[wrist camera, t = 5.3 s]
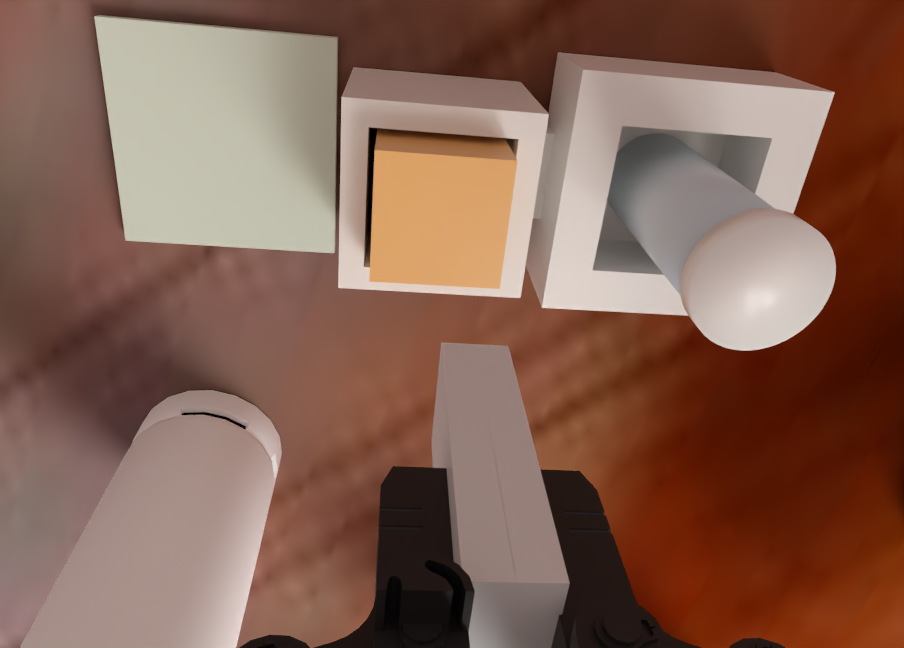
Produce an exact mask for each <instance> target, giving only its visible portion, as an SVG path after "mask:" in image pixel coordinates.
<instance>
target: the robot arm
mask: <svg viewBox="0 0 904 648" xmlns="http://www.w3.org/2000/svg"><path fill="white" fill-rule="evenodd" d="M432 460H433V468H424V467H395V466H393V467H392V469H391V470H390V472H389V473H388V475H387V477H386V478H385V480H384V481H383V483H382V484H381V492H380V510H379V527H378V545H377V566H376V587H375V602H374V607H373V609H372V611H371V613H370V615H369V617H368V618H367V620H366V621H365V622H364V623H363V624H362V625H361V626H360V627H359V628H358V629H357V630H355V631H354V632H353V633H351V634H350V635H348V636H347V637H344V638H342V639H339V640H337V641H334V642H332V643H328V644H325V645H321V646H318V647H315V648H701V647H697V646H694V645H691V644H688V643H685V642H683V641H680V640H678V639H675V638H673V637H671V636H670V635H668V634H666V633H665V632H663V631H662V629H661V627H660V625H659V624H658V622H657V620H656V619H655V618H654V617H653V616H652V615H651V614H649V613H648V612H647V611H646V610H645V609H644V608H643V607H641V606H639V605H638V603H637V601H636V599H635V597H634V594H633V591H632V588H631V586H630V583H629V580H628V577H627V574H626V572H625V569H624V566H623V563H622V560H621V557H620V555H619V552H618V549H617V546H616V543H615V540H614V538H613V535H612V534H611V533H610V530H611V529H610V526H609V523H608V521H607V518H606V516H604V509H603V506H602V504H601V501H600V498H599V495H598V492H597V490H596V489H595V488H594V487H593V485H592V484H591V483H590V482H589V481H588V480H587V479H586V478H585V477H584V476H583V474H582V473H581V472H580V471H563V470H540V466H539V463H538V459H537V455H536V451H535V447H534V443H533V439H532V436H531V432H530V428H529V424H528V420H527V416H526V412H525V408H524V405H523V401H522V397H521V393H520V389H519V385H518V381H517V378H516V374H515V370H514V366H513V362H512V358H511V354H510V350H509V347H508V346H500V345H481V344H461V343H442V342H441V350H440V360H439V370H438V381H437V391H436V401H435V411H434V421H433V432H432ZM240 648H310V647H309V646H308V645H307V644H306V643H304V642H302V641H300V640H298V639H295V638H293V637H291V636H282V635H268V636H265V637H261V638H257V639H254V640H251V641H249V642H248V643H246V644H244V645H243V646H241V647H240ZM730 648H785V647H783V646H782V645H780V644H778V643H774V642H771V641H768V640H764V639H761V638H749V639H742V640H740V641H738V642H736V643H734V644H732V645H731V646H730Z"/></svg>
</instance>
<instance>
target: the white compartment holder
mask: <svg viewBox="0 0 904 648" xmlns="http://www.w3.org/2000/svg"><path fill="white" fill-rule="evenodd" d="M834 94H835V92H833V91H830V90H827V89H824V88H821V87H818V86H815V85H812V84H809V83H806V82H803V81H800V80H797V79H794V78H791V77H788V76H785V75H782V74H779V73H776V72H767V71H756V70H745V69H734V68H723V67H712V66H702V65H691V64H680V63H669V62H658V61H647V60H637V59H626V58H615V57H604V56H593V55H582V54H572V53H561V52H558V54H557V60H556V66H555V73H554V79H553V86H552V92H551V99H550V105H549V112H547V111H546V110H545V109H544V108H543V107H542V106H541V104H540V103H539V102H538V101H537V100H536V99H535V98H534V96H533V95H532V94H531V93H530V92H529V91H528V90H527V88H526V87H525V86H524V85H523V84H522V83H521V82H518V81H507V80H495V79H484V78H473V77H461V76H450V75H438V74H427V73H416V72H404V71H393V70H381V69H370V68H358V67H353V70H352V72H351V75H350V77H349V80H348V82H347V85H346V87H345V90H344V92H343V94H342V97H341V158H340V219H339V279H338V288H349V289H367V290H385V291H403V292H421V293H439V294H457V295H475V296H493V297H510V298H521V291H522V285H523V278H524V272H525V266H526V268H527V271H528V273H529V276H530V278H531V281H532V284H533V286H534V289H535V291H536V294H537V297H538V299H539V302H540V304H541V307H542V308H556V309H575V310H593V311H611V312H630V313H648V314H666V315H685V316H689V315H688V314H687V312H686V311H685V308H684V306H683V304H682V300H681V296H680V294H679V293H678V292H677V291H676V289H675V288H674V287H673V286H672V284H671V283H670V282H669V280H668V279H667V278H666V277H665V275H664V274H663V273H662V272H661V270H660V269H659V268H658V266H657V265H656V264H655V263H654V261H653V260H652V259H651V258H650V256H649V255H648V254H647V252H646V251H645V250H644V249H643V247H642V246H641V245H640V244H639V242H638V241H637V240H636V238H635V237H634V236H633V235H632V233H631V232H630V231H629V229H628V228H627V227H626V226H625V224H624V223H623V222H622V221H621V219H620V218H619V217H618V215H617V214H616V213H615V212H614V210H613V209H612V208H611V206H610V205H609V203H608V201H607V198H608V193H609V188H610V183H611V178H612V174H613V169H614V164H615V159H616V154H617V152H618V151H619V150H620V149H621V148H622V147H623V146H624V145H626V144H627V143H629V142H630V141H632V140H634V139H635V138H638V137H640V136H643V135H647V134H666V135H670V136H673V137H675V138H677V139H678V140H680V141H681V142H683V143H684V144H685V145H687V146H688V147H690V148H691V149H693V150H694V151H695V152H697V153H698V154H700V155H701V156H702V157H704V158H705V159H707V160H708V161H709V162H711V163H712V164H714V165H715V166H716V167H718V168H719V169H721V170H722V171H723V172H725V173H726V174H728V175H729V176H730V177H732V178H733V179H735V180H736V181H737V182H739V183H740V184H742V185H743V186H744V187H746V188H747V189H749V190H750V191H751V192H753V193H754V194H756V195H757V196H758V197H760V198H761V199H763V200H764V201H765V202H767V203H768V204H770V205H771V206H772V207H774V208H775V209H779V210H783V211H787V212H790V213H792V214H793V213H794V210H795V207H796V205H797V202H798V199H799V196H800V193H801V190H802V187H803V184H804V181H805V178H806V175H807V172H808V170H809V167H810V164H811V161H812V158H813V155H814V152H815V149H816V146H817V143H818V140H819V137H820V134H821V132H822V129H823V126H824V123H825V120H826V117H827V114H828V111H829V108H830V105H831V102H832V99H833V96H834ZM374 128H383V129H396V130H408V131H421V132H434V133H446V134H459V135H472V136H484V137H497V138H505V139H506V140H507V142H508V144H509V146H510V148H511V150H512V152H513V154H514V155H515V157H516V159H517V168H516V175H515V182H514V189H513V197H512V204H511V211H510V218H509V225H508V233H507V240H506V247H505V254H504V261H503V269H502V276H501V283H500V289H492V288H475V287H457V286H440V285H422V284H405V283H387V282H370V281H369V277H370V252H371V227H372V210H371V185H372V159H373V134H374Z"/></svg>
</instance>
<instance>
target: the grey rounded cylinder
mask: <svg viewBox="0 0 904 648" xmlns="http://www.w3.org/2000/svg"><path fill="white" fill-rule="evenodd" d="M607 201H608V203H609V205H610V206H611V208H612V209H613V210H614V212H615V213H616V214H617V215H618V217H619V218H620V219H621V221H622V222H623V223H624V224H625V226H626V227H627V228H628V229H629V231H630V232H631V233H632V235H633V236H634V237H635V238H636V240H637V241H638V242H639V244H640V245H641V246H642V247H643V249H644V250H645V251H646V252H647V254H648V255H649V256H650V258H651V259H652V260H653V261H654V263H655V264H656V265H657V266H658V268H659V269H660V270H661V272H662V273H663V274H664V275H665V277H666V278H667V279H668V280H669V282H670V283H671V284H672V286H673V287H674V288H675V289H676V291H677V292H678V293H679V294H680V296H681V300H682V304H683V306H684V308H685V311H686V312H687V314H688V315H689V317H690V318H691V319H692V321H693V322H694V323H695V325H696V326H697V327H698V329H699V330H700V331H701V332H702V333H703V334H704V336H706V337H707V338H708V339H709V340H710V341H712V342H714V343H715V344H717V345H720V346H722V347H725V348H728V349H733V350H741V351H750V350H759V349H763V348H768V347H771V346H774V345H777V344H779V343H781V342H784V341H786V340H788V339H789V338H791V337H793V336H795V335H796V334H797V333H799V332H800V331H802V330H803V329H804V328H805V327H806V326H808V325H809V324H810V323H811V322H812V321H813V320H814V319H815V318H816V317H817V315H818V314H819V313H820V311H821V310H822V309H823V307H824V305H825V304H826V302H827V301H828V298H829V296H830V294H831V292H832V289H833V286H834V282H835V276H836V262H835V256H834V253H833V250H832V248H831V246H830V244H829V242H828V241H827V239H826V238H825V237H824V236H823V235H822V234H821V233H820V232H819V231H818V230H816V229H815V228H813V227H812V226H811V225H809V224H808V223H806V222H805V221H803V220H802V219H800V218H799V217H798V216H796V215H794V214H792V213H790V212H787V211H783V210H779V209H775V208H774V207H772V206H771V205H770V204H768V203H767V202H765V201H764V200H763V199H761V198H760V197H758V196H757V195H756V194H754V193H753V192H751V191H750V190H749V189H747V188H746V187H744V186H743V185H742V184H740V183H739V182H737V181H736V180H735V179H733V178H732V177H730V176H729V175H728V174H726V173H725V172H723V171H722V170H721V169H719V168H718V167H716V166H715V165H714V164H712V163H711V162H709V161H708V160H707V159H705V158H704V157H702V156H701V155H700V154H698V153H697V152H695V151H694V150H693V149H691V148H690V147H688V146H687V145H685V144H684V143H683V142H681V141H680V140H678V139H677V138H675V137H673V136H670V135H666V134H647V135H643V136H640V137H638V138H635V139H634V140H632V141H630V142H629V143H627V144H626V145H624V146H623V147H622V148H621V149H620V150H619V151H618V152H617V154H616V159H615V164H614V169H613V174H612V178H611V183H610V188H609V193H608V198H607Z"/></svg>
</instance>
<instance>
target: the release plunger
mask: <svg viewBox="0 0 904 648" xmlns="http://www.w3.org/2000/svg"><path fill="white" fill-rule="evenodd" d="M516 168H517V159H516V157H515V155H514V154H513V152H512V150H511V148H510V146H509V144H508V142H507V140H506V139H505V138H497V137H484V136H472V135H459V134H446V133H434V132H421V131H408V130H396V129H383V128H377V136H376V143H375V151H374V177H373V202H372V227H371V252H370V277H369V281H370V282H387V283H405V284H422V285H440V286H457V287H475V288H492V289H500V283H501V276H502V269H503V261H504V254H505V247H506V240H507V233H508V225H509V218H510V211H511V204H512V197H513V189H514V182H515V175H516Z"/></svg>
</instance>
